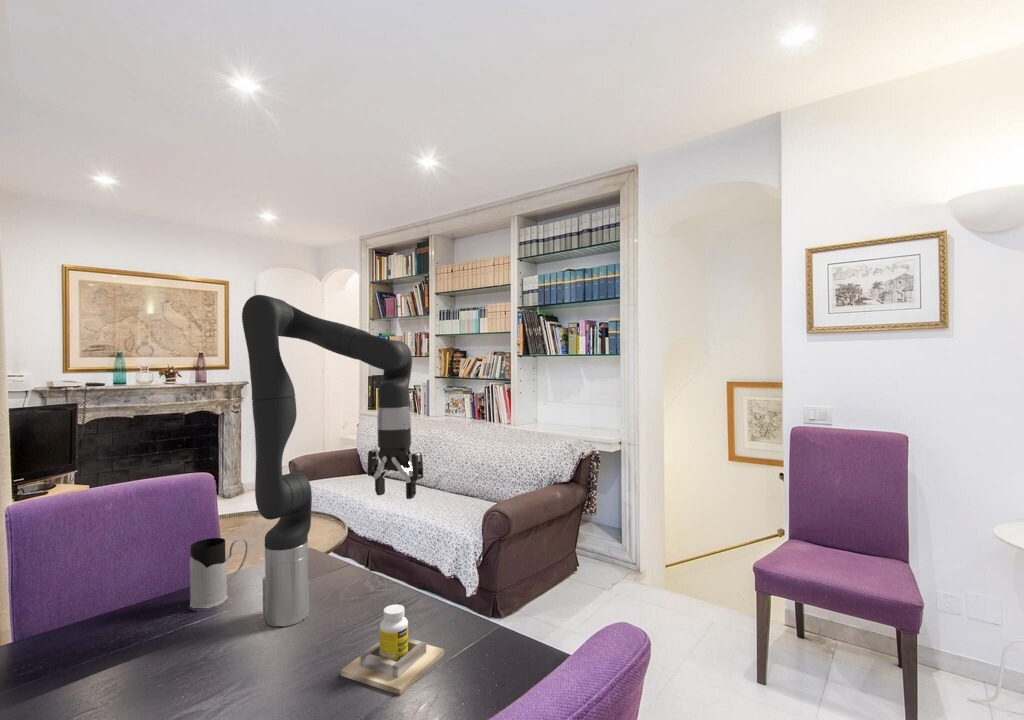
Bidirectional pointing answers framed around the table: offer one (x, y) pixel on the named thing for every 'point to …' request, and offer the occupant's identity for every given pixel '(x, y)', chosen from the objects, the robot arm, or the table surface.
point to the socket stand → (393, 667)
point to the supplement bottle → (394, 633)
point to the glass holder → (210, 572)
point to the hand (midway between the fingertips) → (395, 496)
